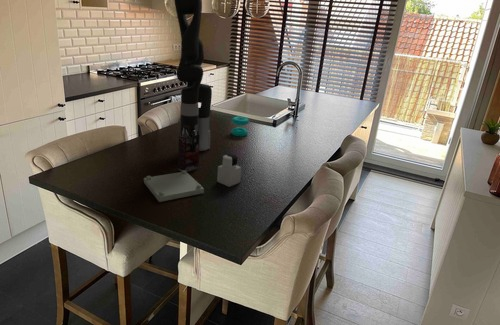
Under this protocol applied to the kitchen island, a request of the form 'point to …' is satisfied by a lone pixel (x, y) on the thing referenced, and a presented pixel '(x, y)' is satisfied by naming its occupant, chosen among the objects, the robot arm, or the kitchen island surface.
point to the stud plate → (173, 186)
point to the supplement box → (187, 155)
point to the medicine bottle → (229, 171)
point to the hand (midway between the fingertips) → (188, 149)
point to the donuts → (239, 130)
